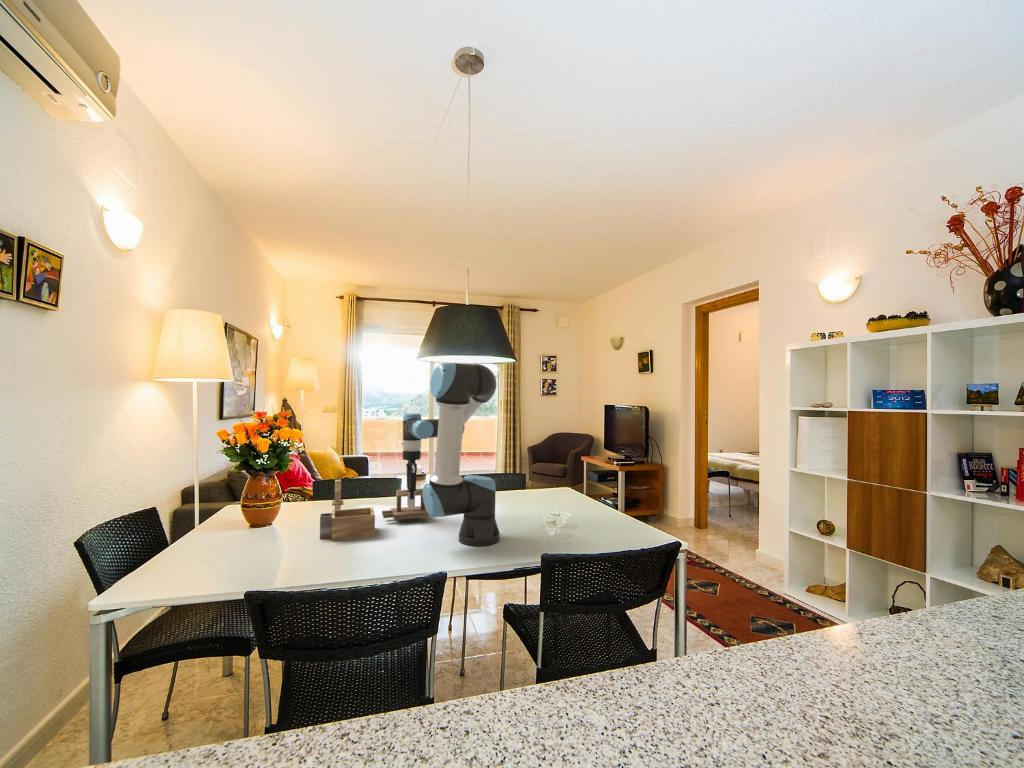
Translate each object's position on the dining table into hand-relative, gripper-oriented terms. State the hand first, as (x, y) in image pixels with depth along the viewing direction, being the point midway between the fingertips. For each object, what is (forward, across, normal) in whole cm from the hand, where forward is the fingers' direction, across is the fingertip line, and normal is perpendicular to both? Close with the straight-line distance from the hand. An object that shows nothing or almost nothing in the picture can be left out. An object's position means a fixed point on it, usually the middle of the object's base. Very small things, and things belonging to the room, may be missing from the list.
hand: (411, 505), depth 197 cm
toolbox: (+6, +13, -26) cm, 29 cm away
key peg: (+6, -10, -29) cm, 31 cm away
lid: (+3, 0, -2) cm, 4 cm away
